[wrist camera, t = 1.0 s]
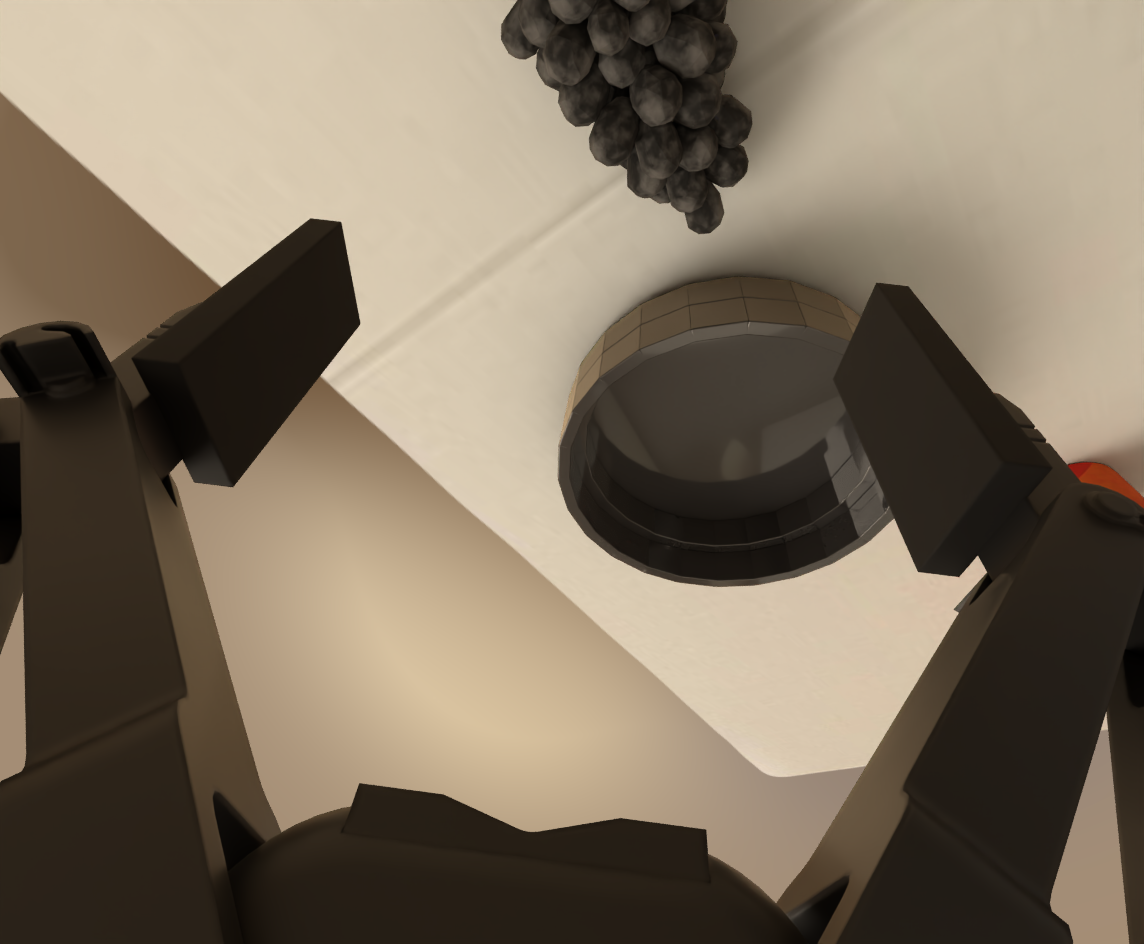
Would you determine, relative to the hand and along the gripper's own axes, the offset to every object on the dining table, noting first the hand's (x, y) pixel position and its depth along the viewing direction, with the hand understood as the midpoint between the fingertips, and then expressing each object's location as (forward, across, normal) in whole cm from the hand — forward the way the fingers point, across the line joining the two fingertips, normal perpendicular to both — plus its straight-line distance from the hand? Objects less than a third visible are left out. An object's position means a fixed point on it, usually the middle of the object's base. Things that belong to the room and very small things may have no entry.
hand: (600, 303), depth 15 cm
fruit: (+20, +1, +3) cm, 20 cm away
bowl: (+19, +9, -17) cm, 27 cm away
